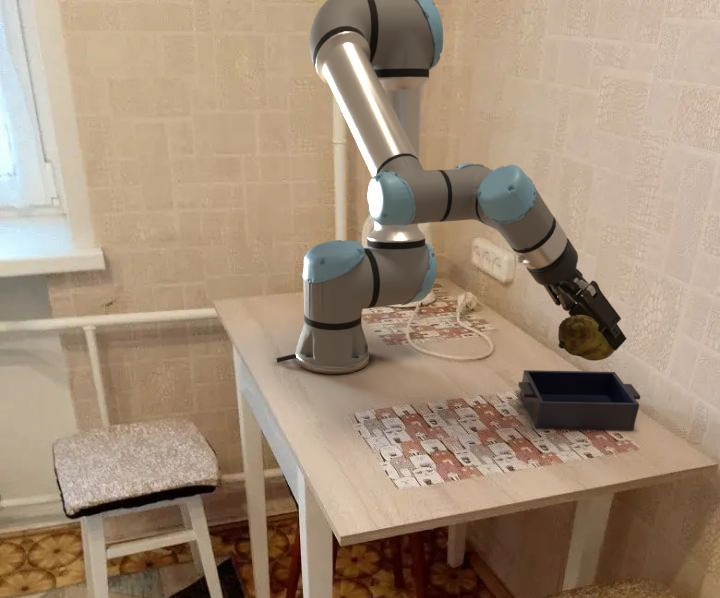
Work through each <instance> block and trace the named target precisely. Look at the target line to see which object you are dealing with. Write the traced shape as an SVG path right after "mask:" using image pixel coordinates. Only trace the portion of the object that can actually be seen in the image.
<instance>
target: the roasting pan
mask: <svg viewBox="0 0 720 598" xmlns="http://www.w3.org/2000/svg"><path fill="white" fill-rule="evenodd" d="M521 382H528V383H529V385H530V387H531V389H532V391H533V393H534V398H524V396H523V394H522V392H521V391H520V392H519V395H520V398H521V399H522V402H523V404H524V406H525V408H526V410H527V413H528V415H529V417H530V419H531V421H532V423H533V426H534V428H535V429H536V430H579V431H580V430H582V431H583V430H585V431H587V430H588V431H590V430H591V431H634V429H635V424H636V420H637V416H638V412H639V408H640V404H639V402H638V400H637V399H635V398H634V397H633V395H632V394H631V393H630V392H629V390H628V389H627V388H626V386H625V385H624V384H625V383H624V382H623V380H622V379H621V378H620V376H619V375H618V374H617V372H616V371H594V370H593V371H591V370H590V371H589V370H584V371H583V370H582V371H581V370H580V371H579V370H535V369H533V370H529V369H524V370H523V373H522V380H521Z"/></svg>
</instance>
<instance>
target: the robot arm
mask: <svg viewBox="0 0 720 598" xmlns="http://www.w3.org/2000/svg"><path fill="white" fill-rule="evenodd" d="M308 41H309V42H308V43H309V54H310V58H311V61H312V65H313V67H314V69H315V71H316V73H317V76H318V78H319V80H321V81H322V82H323V83H325V84H326V85H328V86H329V87H330V89H331V91H332V93H333V96H334V98H335V100H336V102H337V104H338V106H339V109H340V111H341V113H342V115H343V117H344V119H345V121H346V124H347V126H348V128H349V131H350V133H351V134H352V137H353V139H354V141H355V144H356V145H357V147H358V150H359V152H360V155H361V157H362V159H363V161H364V162H365V165H366V167H367V169H368V172H369V173H370V176H371V179H370V181H369V183H368V187H367V194H366V197H367V204H368V211H369V214H370V216H371V218H372V220H373V221H374V227H373V229H372V230H371V231H370V232H369V234H368V235H367V236H366V247H364V246H363V244H362V243H361V242H359V241H356V240H352V239H346V240H342V239H336V240H329V241H324V242H321V243H318V244H316V245H313V246H312V247H311V248H310V249H308V251H306V253H305V254H304V257H303V271H302V274H301V275H302V280H303V285H302V286H303V325H302V329H301V333H300V336H299V339H298V341H297V345H296V347H295V353H293V354H288V355H283V356H280V357H275V359H276V363H282V362H285V361H290V360H294V359H295V362H296V364H297V365H298V366H300V367H301V368H303V369H305V370H307V371H310V372H314V373H318V374H325V375H343V374H350V373H355V372H357V371H360V370H362V369H363V368H365V367H366V366H367V365H368V364H369V362H370V351H371V344H372V343H371V342H369V344H368V342H367V339H366V336H365V332H364V329H363V324H362V316H363V315H362V314H363V310H365V309H372V308H373V309H375V308H383V307H389V306H398V305H401V306H405V305H409V304H412V303H418V302H420V301H423V300H425V298H427V296H428V295H429V294H430V293H431V291H432V289H433V287H434V284H435V282H436V277H437V268H438V267H437V266H438V265H437V258H436V257H435V255H436V253H435V250H434V248H433V246H431V245H430V244H429V243H427V242H426V234H425V233H424V232H423V231H422V230H421V229H420V227H419V225H420V224H428V223H445V222H457V221H468V220H474V221H478V222H480V223H482V224H484V225H485V226H488V227H490V228H492V229H494V230H496V231H497V232H498V233H499V234H500V235H501V236H502V238H503V240H505V241H506V243H508V246H509V247H510V248H511V249H512V250H513V252H514V253H515V254H516V255H517V258H516V261H517V263H519V264H523V265H524V266H525V267H526V270H527V271H528V274H529V275H531V277H532V278H533V279H534V281H535V282H536V283H537V284H539V285H540V286H543V287H544V289H545V291H546V292H547V294H548V295H549V297H550V299H552V302H554V304H555V306H558V307H560V306H561V307H562V309H563V311H564V312H565V311H566V312H568V315H569V317H571V316H574V315H585V316H589V317H591V318H593V319H594V320H595V321H596V322H597V324H598V325H599V326H598V329H597V330H598V331H599V332H601V333H602V334H603V336H604V337H605V339H606V340H607V341H608V343H609V344H610V346H611V347H612V349H613V350H615V351H617V350H618V349H619V348H620V347H621V346H622V345H623V343H624V342H625V341H626V340H627V336H626V335H625V333H624V332H623V331H622V329H621V328H620V326H619V325H618V323H619V322H620V321H621V320H622V318H621V316H620V315H619V313H618V312H617V311H616V309H615V308H614V306H613V305H612V304H611V303H610V301H609V300H608V299H607V297H606V296H605V294H604V293H603V291H602V290H601V288H600V286H599V284H598V282H597V281H595V280H591V281H590V282H588V281H587V279H585V277H584V276H583V273H582V272H581V271H580V269H578V268H577V266H578V261H579V255H578V252H577V250H576V248H575V247H574V244H572V242H571V241H570V239H569V238H568V236H567V234H566V232H565V231H564V229H563V228H562V226H561V224H560V223H559V221H558V220H557V218H556V217H555V216H554V215H553V214H552V212H551V210H550V209H549V207H548V205H547V204H546V202H545V201H544V199H543V198H542V196H541V194H540V193H539V192H538V190H537V188H536V185H535V184H534V183H533V180H532V179H531V177H529V176H528V175H527V174H526V173H525V171H524V170H523V169H522V168H521V167H520V166H518V165H516V164H508V165H506V166H504V165H502V166H499V167H497V168H495V169H494V170H493V169H490V168H489V167H488V166H484V165H483V164H480V163H472V162H464V163H460V164H459V165H457V166H455V167H454V168H452V169H430V170H429V169H428V170H427V169H426V170H425V168H424V167H423V165H422V164H421V162H420V141H421V140H420V138H421V136H420V135H421V134H420V133H421V126H420V125H421V91H422V89H423V88H424V86H425V85H426V84H427V83H428V82H429V80H430V70H432V69H433V68H435V67H436V66H437V65H438V64H439V62H440V60H441V54H442V53H443V48H444V28H443V20H442V17H441V14H440V11H439V9H438V7H437V6H436V4H435V2H434V1H433V0H326V1H325V2H324V3H323V4H322V6H321V7H320V8H319V9H318V11H317V13H316V15H315V17H314V19H313V22H312V25H311V28H310V33H309V40H308ZM615 351H614V352H615Z"/></svg>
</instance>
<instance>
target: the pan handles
mask: <svg viewBox="0 0 720 598" xmlns="http://www.w3.org/2000/svg"><path fill="white" fill-rule="evenodd" d="M623 384H624V385H625V386H626V388H627V389H628V390H629V392H630V393H631V394H632V395H633V397H634V398H635V399H636V401H638V400H641V394H640V393H639V392H638V391H637V390H636V388H635V387H634V386H633V384H632V383H623ZM517 385H518V388H519V390H520V392H522V394H523V396H524V398H534V393H533V391H532V389H531V387H530V385H529V383H528V382H522V381H518V384H517Z"/></svg>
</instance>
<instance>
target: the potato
mask: <svg viewBox="0 0 720 598" xmlns="http://www.w3.org/2000/svg"><path fill="white" fill-rule="evenodd" d="M598 326H599V325H598V324H597V322H596V321H595V320H594V319H593V318H591V317H589V316H585V315H574V316H568V317H565V318H564V319H562V321H561V323H559V326H558V333H557V339H558V345H557V346H558V347H559V348H560V349H562V350H563V349H564V350H565V352H567V353H568V354H570V355H572V356H576V357H580V358H582V359H584V360H587V361H592V362H593V361H594V362H595V361H596V362H597V361H602V360H605V359H607V358H609V357H611V356H612V355H613V354H614V352H615V350H613V349H612V347H611V346H610V344H609V343H608V341H607V340H606V339H605V337H604V336H603V334H602V333H601V332H599V331H598V330H597V329H598Z"/></svg>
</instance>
